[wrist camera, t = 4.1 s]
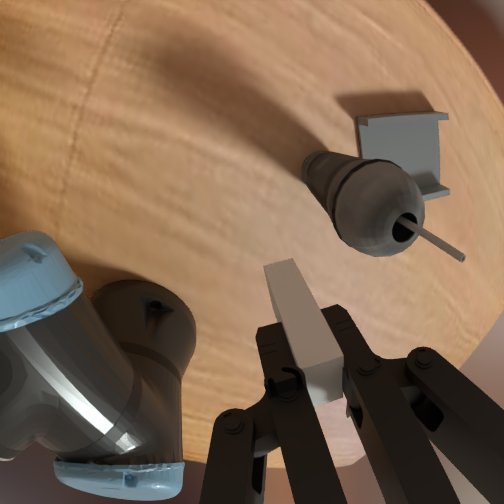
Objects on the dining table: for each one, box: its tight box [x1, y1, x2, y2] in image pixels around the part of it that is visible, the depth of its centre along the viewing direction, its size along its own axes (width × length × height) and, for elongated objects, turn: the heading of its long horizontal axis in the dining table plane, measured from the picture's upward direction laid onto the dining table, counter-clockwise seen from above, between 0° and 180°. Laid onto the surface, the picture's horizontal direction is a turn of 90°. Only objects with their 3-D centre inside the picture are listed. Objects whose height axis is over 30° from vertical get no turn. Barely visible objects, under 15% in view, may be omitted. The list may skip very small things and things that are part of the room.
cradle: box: [356, 111, 450, 201], centre depth 30 cm, size 12×11×2 cm
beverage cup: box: [302, 151, 466, 263], centre depth 22 cm, size 7×7×20 cm
